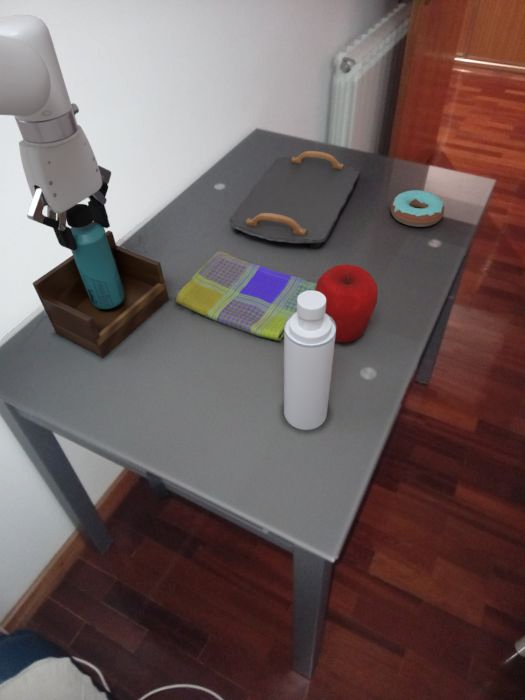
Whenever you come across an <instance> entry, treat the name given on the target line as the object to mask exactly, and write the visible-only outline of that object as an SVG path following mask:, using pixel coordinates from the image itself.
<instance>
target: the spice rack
mask: <svg viewBox="0 0 525 700" xmlns="http://www.w3.org/2000/svg"><path fill="white" fill-rule="evenodd" d="M105 234H106V237H107V240H108V243H109V246H110V249H111V252H112V255H113V258H114V261H116V262H115V264H116V265H117V266H116V267H117V268H118V269H117V270H118V273H119V277H121V278H120V280H122V281H121V283H123V285H122V286H123V287H124V288H123V289H124V293H125V296H124V300H123V301H122V302H121V303H120V304H119V305H118V306H116V307H113V308H110V309H99V308H96V307H95V306H94V305H93V304H91V301H90V298H88V295H87V294H88V293H86V292H87V290H85V289H86V288H84V284H83V280H82V278H81V275H79V274H80V272H79V270H78V267H77V265H76V262H75V259H73V258H74V256H73V254H72V255H71V256H69V257H68V258H66V259H65V260H63V261H62V262H61V263H59V264H58V265H56V266H55V267H54V268H52V269H50V270H49V271H48V272H46V273H44V274H43V275H42V276H40V277H39V278H38V279H36V280H35V281H32V286H33V288H34V290H35V292H36V294H37V296H38V299H39V301H40V303H41V305H42V307H43V309H44V311H45V314H46V315H47V317H48V320H49V322H50V323H51V326H52V327H53V330H54V332H55V334H56V335H58V336H60V337H61V338H63V339H66V340H68V341H69V342H71V343H73V344H74V345H77V346H78V347H81V348H83V349H85V350H87V351H88V352H90V353H92V354H94V355H96V356H98V357H99V358H102V359H104V358H105V357H107V355H108V354H110V353H111V352H112V351H113V350H114V349H115V348H116V347H118V346H119V345H120V344H121V343H122V342H123V341H124V340H125V339H126V338H128V337H129V336H130V335H131V334H133V332H134V331H135V330H137V329H138V328H139V327H140V326H141V325H142V324H143V323H144V322H146V321H147V320H148V319H149V318H150V317H152V315H154V313H155V312H157V311H158V310H159V309H160V308H161V307H162V306H163V305H164V304H166V303H167V302H168V301H169V295H168V291H167V286H166V282H165V278H164V273H163V269H162V264H161V262H160V261H157V260H154V259H152V258H149V257H148V256H145V255H142V254H139V253H137V252H134V251H131V250H130V249H127V248H125V247H121V246H119V245H117V243H116V239H115V237H114V232H113V231H111V230H107V231H105Z"/></svg>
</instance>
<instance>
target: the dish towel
mask: <svg viewBox="0 0 525 700" xmlns="http://www.w3.org/2000/svg"><path fill="white" fill-rule="evenodd" d="M316 286H317V282H312V281H310V280H306V279H303V278H301V277H299V276H298V277H297V276H295V275H291V274H287V273H284V272H280V271H277V270H272V269H270V268H267V267H264V266H262V265H259V264H255V263H253V262H250V261H246V260H242V259H240V258H238V257H235V256H232V255H231V254H229V253H226V252H223V251H220V250H219V251H217V252H216V253H215V254H214V255H212V256H211V258H210V259H208V261H207V262H205V263H204V264H203V265H202V266H201V267H200V268H199V269H198V270H197V272H195V274H194V275H193V276H192V277H191V278H189V279H188V280H187V281H186V282H185V283H184V284H183V285H182V286H180V288H179V289H178V290H177V291H176V293H175V295H174V301H175V302H176V304H177V305H180V306H182V307H184V308H185V309H188V310H190V311H192V312H195V313H196V314H199V315H201V316H204V317H206V318H208V319H210V320H212V321H215V322H217V323H220V324H223V325H224V326H229V327H231V328H234V329H237V330H239V331H243V332H246V333H249V334H251V335H254V336H257V337H260V338H266V339H269V340H274V341H277V342H278V341H282V340H283V339H284V325H286V324H285V322H286V320H287V318H288V317H289V316H290V315H292V314H293V313H295V312H297V298H298V296H299V295H300V294H301V293H302V292H304V291H309V290H314V291H316ZM286 323H287V322H286Z"/></svg>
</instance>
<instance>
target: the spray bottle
mask: <svg viewBox="0 0 525 700" xmlns="http://www.w3.org/2000/svg"><path fill="white" fill-rule="evenodd" d="M325 311H326V297H325V296H324V295H323V294H322V293H321V292H318V291H316V290H315V291H314V290H309V291H304V292H302V293H301V294H300V295H299V296H298V298H297V312H295V313H293V314H292V315H290V316H289V317H288V318H287V320H286V322H287V323H286V322H285V324H286V325H284V337H283V414H284V415H283V416H284V418H285V420H286V421H287V423H288V424H289V425H290V426H291V427H294V428H296V429H297V430H301V431H311V430H315V429H317V428H319V427H320V426H322V425H323V424H324V423H325V421H326V419H327V415H328V408H329V399H330V390H331V380H332V371H333V363H334V353H335V343H336V341H335V335H336V324H335V322H334V320H333V319H332V318H331V317H330V316H329V315H328V314H326V313H325ZM330 319H331V320H332V321H333V322H332V321H331V320H330Z"/></svg>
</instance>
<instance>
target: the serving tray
mask: <svg viewBox="0 0 525 700" xmlns="http://www.w3.org/2000/svg"><path fill="white" fill-rule="evenodd" d="M360 175H361V170H360V169H358V168H356V167H354V166H350V165H348V164H347V163H342V162H339V161H338V159H337V158H336V157H335V156H333V154H331V153H327V152H324V151H318V150H306V151H303V152H301V153H300V154H299V155H298V156H291V157H287V156H283V157H278V158H276V159H275V160H274V161H273V163H272V164H271V165H270V166H269V167H268V169H267V170H266V171H265V172H264V173H263V175H262V177H261V178H260V179H259V180H258V182H257V183H256V185H255V186H253V188H252V189H251V191H250V192H249V193H248V195H247V196H246V197H245V199H243V201H242V202H241V203H240V205H239V206H238V207H237V209H236V210H234V213H232V216H231V217H230V218H229V221H228V225H230V226H231V227H232V228H233V230H234V232H235V234H236V235H241V234H243V233H244V234H247V235H250V236H253V237H255V238H259V239H262V240H267V241H271V242H278V243H288V244H308V245H309V244H310V247H311V249H313V250H318V249H319V247H320V246H321V243H324V242H325V241H327V239H328V238H329V236H330V233H331V232H332V230H333V228H334V226H335V224H336V222H337V221H338V220H339V217H340V214H341V211H342V210H343V209H344V207H345V206H346V204H347V201H348V199H349V197H350V195H351V194H352V193H353V191H354V186H355V185H356V182H358V179H359V177H360Z"/></svg>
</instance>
